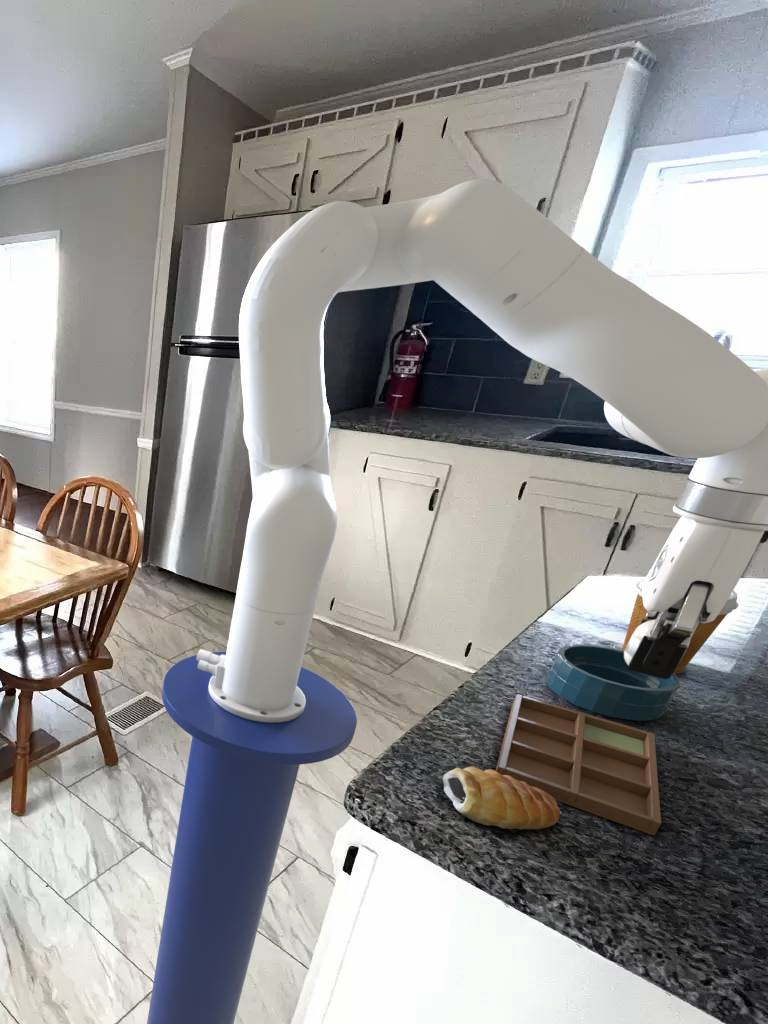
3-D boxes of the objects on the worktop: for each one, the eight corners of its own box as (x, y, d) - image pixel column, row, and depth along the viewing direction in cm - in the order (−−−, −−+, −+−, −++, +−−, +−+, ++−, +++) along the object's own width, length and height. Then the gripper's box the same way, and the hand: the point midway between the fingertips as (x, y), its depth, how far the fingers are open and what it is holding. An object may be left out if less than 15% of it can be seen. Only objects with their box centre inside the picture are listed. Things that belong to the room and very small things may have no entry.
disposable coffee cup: (694, 659, 90) (735, 583, 85) (704, 688, 84) (749, 607, 78) (603, 639, 96) (637, 566, 91) (606, 665, 89) (643, 588, 84)
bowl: (541, 701, 82) (555, 668, 80) (547, 666, 90) (561, 635, 87) (663, 736, 75) (682, 701, 73) (659, 695, 83) (676, 663, 80)
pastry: (534, 794, 67) (547, 766, 66) (571, 843, 61) (587, 813, 60) (434, 781, 69) (444, 754, 68) (461, 827, 64) (473, 798, 62)
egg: (616, 673, 70) (642, 622, 67) (616, 658, 72) (642, 608, 70) (670, 687, 67) (700, 635, 64) (668, 671, 70) (697, 620, 67)
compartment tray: (493, 778, 70) (498, 766, 69) (512, 703, 82) (516, 693, 81) (654, 835, 62) (661, 823, 61) (648, 744, 74) (654, 733, 73)
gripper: (673, 479, 69) (602, 626, 77) (684, 516, 58) (599, 683, 66) (778, 492, 64) (690, 647, 72) (811, 535, 53) (703, 712, 61)
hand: (647, 662), depth 69 cm, fingers closed on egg, 4 cm apart
